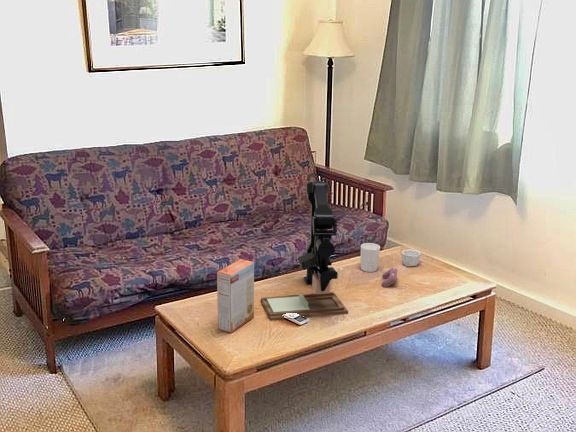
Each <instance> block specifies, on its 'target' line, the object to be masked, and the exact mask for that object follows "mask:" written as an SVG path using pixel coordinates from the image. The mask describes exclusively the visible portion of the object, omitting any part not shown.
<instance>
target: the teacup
mask: <svg viewBox="0 0 576 432" xmlns="http://www.w3.org/2000/svg"><path fill="white" fill-rule="evenodd" d="M421 257H422V253H421V252H420V251H418V250H416V249H412V248H411V249H403V250H402V251H401V261H402V263H403V265H405V266H406V267H410V266H413V267H415V266H417V265H418V264H419V263H420V259H421Z"/></svg>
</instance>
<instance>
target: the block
mask: <svg viewBox="0 0 576 432" xmlns="http://www.w3.org/2000/svg"><path fill="white" fill-rule="evenodd" d="M330 285H331V281H330V282H329V284H328V286H327V287H326V289H325V291H321V286H320V278H318V277H317V275H316V274H313V279H312V284H311V289H312V290H313V292H314V294H322V293H329V292H331V290H330V288H331V286H330Z"/></svg>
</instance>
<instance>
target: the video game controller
mask: <svg viewBox="0 0 576 432" xmlns="http://www.w3.org/2000/svg"><path fill="white" fill-rule="evenodd" d="M381 278H382V279H384V280H382V282H381V284H380V285H381V286H382V287H383V288H384V287H385V288H387V287H389V286H391V285H393V284H394V283H395V282H396V283H397V281H398V269H397V268H394V267H391V268H390V269H388V270H387V271H385V272H383V274H382V276H381Z"/></svg>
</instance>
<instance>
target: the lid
mask: <svg viewBox="0 0 576 432" xmlns="http://www.w3.org/2000/svg"><path fill="white" fill-rule="evenodd" d="M298 295H299V296H297V297H284V298H271V299H267V302H268V304H269V306H270V308H271V310H272V312H273V313H274V312H286V311H298V310H310V309H309V307H308V302H307V300H306V299H305V297H304V296H303V293H299V294H298Z"/></svg>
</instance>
